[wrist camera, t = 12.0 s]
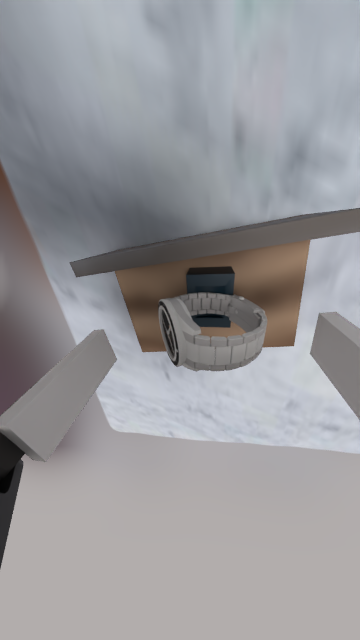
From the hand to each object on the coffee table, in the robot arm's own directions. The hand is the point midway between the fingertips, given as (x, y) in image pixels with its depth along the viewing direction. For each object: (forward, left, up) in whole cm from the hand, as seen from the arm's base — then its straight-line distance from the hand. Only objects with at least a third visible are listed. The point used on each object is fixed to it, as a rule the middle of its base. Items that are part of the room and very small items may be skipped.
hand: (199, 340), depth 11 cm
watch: (0, 0, -10) cm, 10 cm away
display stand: (+1, 0, -12) cm, 12 cm away
